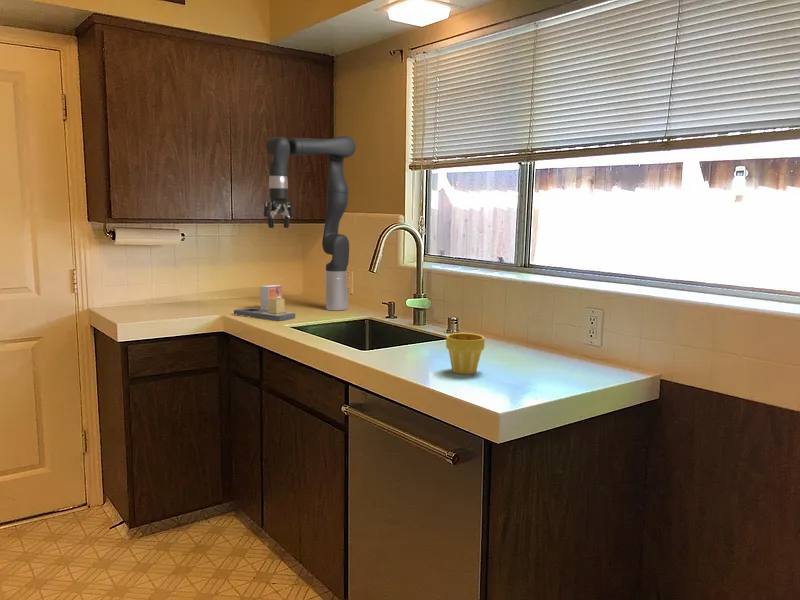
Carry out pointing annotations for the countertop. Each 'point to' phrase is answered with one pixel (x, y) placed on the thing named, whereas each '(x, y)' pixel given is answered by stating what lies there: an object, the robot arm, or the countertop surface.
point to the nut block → (276, 305)
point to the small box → (269, 294)
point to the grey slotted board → (264, 314)
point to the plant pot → (464, 351)
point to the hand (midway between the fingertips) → (278, 227)
